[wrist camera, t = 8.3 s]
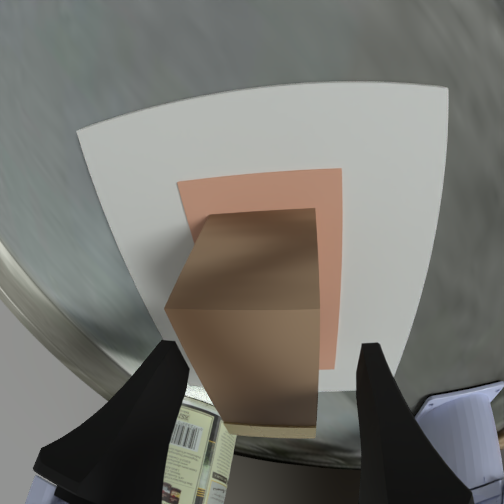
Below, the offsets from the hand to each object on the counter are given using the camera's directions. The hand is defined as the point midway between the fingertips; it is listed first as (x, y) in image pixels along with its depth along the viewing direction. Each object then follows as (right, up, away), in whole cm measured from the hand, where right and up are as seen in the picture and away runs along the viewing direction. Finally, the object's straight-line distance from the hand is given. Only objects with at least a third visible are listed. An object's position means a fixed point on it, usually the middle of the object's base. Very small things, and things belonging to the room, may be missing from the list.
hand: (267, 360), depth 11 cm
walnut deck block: (0, +2, +3) cm, 3 cm away
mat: (+1, +2, +3) cm, 4 cm away
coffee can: (-7, -12, +15) cm, 20 cm away
